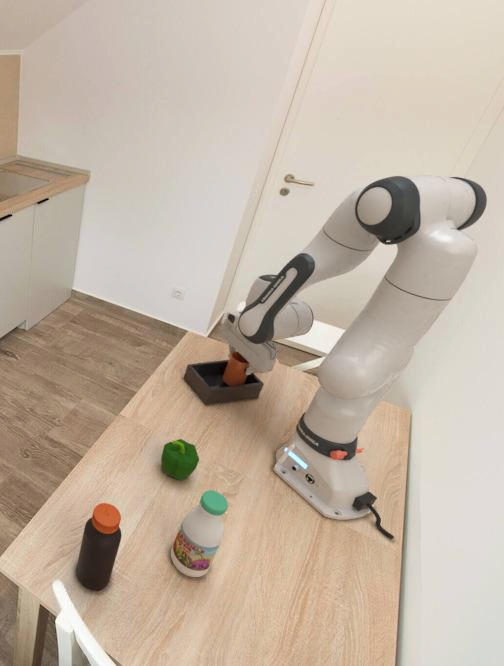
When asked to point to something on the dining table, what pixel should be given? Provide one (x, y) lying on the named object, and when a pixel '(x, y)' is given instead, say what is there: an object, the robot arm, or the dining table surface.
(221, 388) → the dark open tray
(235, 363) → the cup
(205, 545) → the milk bottle
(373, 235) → the robot arm
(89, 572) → the vinegar
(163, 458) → the bell pepper
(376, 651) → the dining table surface
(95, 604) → the dining table surface
